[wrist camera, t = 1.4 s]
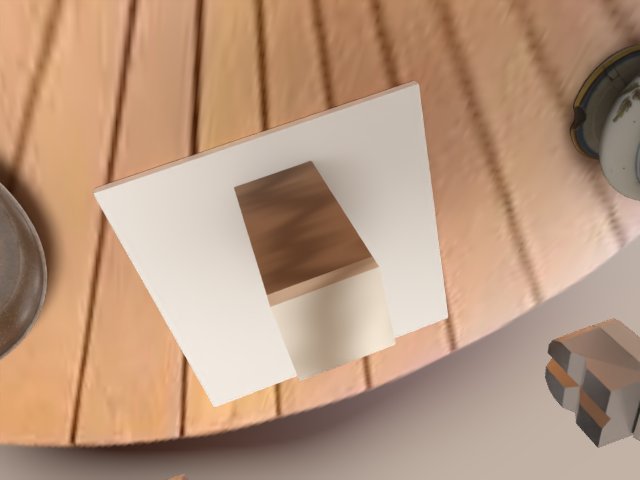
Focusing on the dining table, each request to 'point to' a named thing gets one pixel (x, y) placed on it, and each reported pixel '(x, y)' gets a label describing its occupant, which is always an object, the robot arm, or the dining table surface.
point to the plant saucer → (19, 273)
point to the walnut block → (314, 271)
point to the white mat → (235, 247)
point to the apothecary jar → (612, 120)
